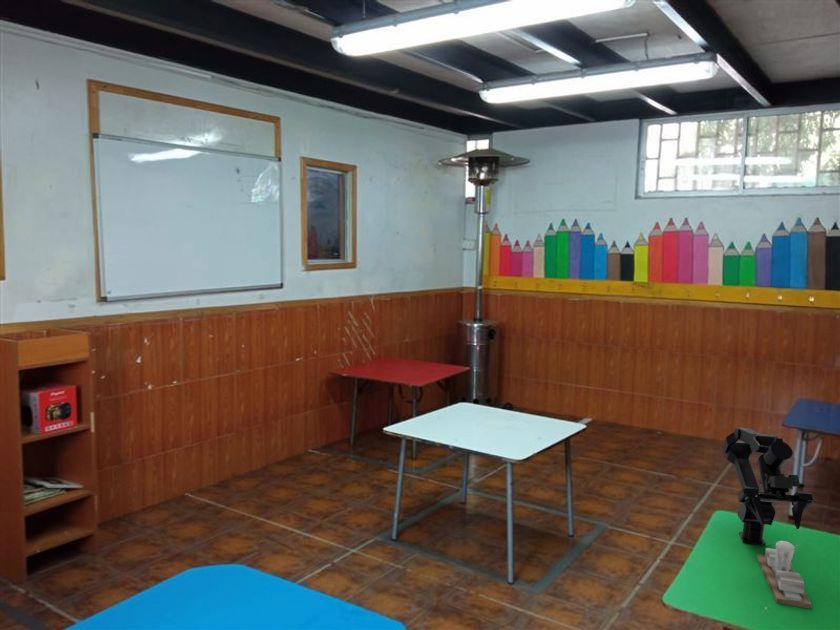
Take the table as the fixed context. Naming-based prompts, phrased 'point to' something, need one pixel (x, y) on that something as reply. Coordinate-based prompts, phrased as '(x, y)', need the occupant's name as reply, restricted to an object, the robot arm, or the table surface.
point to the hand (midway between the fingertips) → (780, 526)
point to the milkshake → (784, 555)
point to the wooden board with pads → (783, 582)
